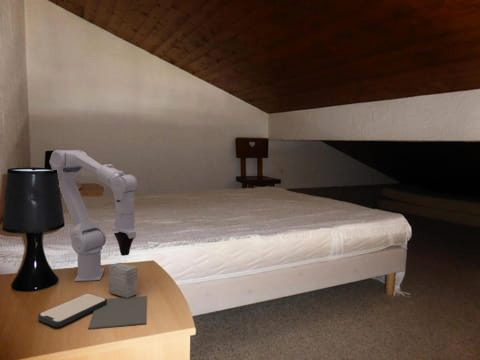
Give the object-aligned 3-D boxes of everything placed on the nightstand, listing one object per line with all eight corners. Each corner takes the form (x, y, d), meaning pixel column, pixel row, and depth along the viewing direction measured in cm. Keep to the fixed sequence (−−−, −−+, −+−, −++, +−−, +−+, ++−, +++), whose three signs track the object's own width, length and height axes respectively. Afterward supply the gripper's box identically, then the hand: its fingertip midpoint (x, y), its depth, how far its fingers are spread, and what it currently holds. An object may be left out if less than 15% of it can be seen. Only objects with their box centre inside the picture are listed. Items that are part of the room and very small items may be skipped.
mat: (97, 300, 104) (97, 299, 104) (146, 297, 108) (146, 295, 108) (88, 329, 89) (88, 327, 89) (146, 324, 92) (146, 322, 92)
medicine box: (137, 294, 109) (138, 266, 108) (126, 299, 105) (126, 270, 104) (120, 288, 113) (120, 262, 112) (108, 293, 109) (108, 265, 108)
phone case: (88, 297, 106) (35, 320, 92) (88, 292, 106) (35, 314, 92) (109, 304, 102) (57, 329, 88) (109, 298, 101) (57, 323, 87)
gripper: (105, 209, 116) (105, 250, 117) (119, 219, 104) (119, 263, 106) (126, 208, 120) (126, 247, 121) (142, 216, 108) (142, 259, 110)
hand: (124, 254), depth 114 cm, fingers closed
